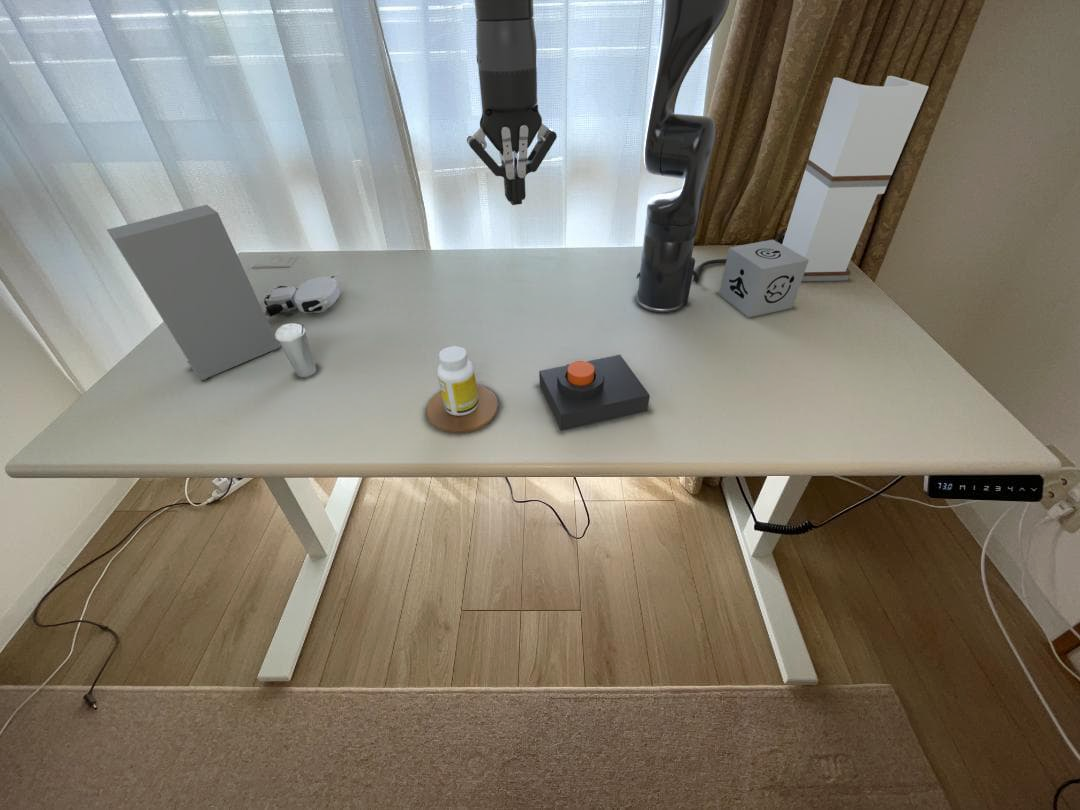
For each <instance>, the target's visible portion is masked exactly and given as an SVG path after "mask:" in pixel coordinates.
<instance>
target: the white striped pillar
mask: <svg viewBox="0 0 1080 810" xmlns="http://www.w3.org/2000/svg"><path fill="white" fill-rule="evenodd" d="M928 90H929V85H925V84H922V83H918V82H916V81H912V80H908V79H905V78H902V77H898V76H894V75H887V77H886V79H885V81H884V85H883V86H879V85H869V84H868V85H867V84H861V83H855V82H852V81H849V80H847V79H845V78H841V77H833V78H832V82H831V85H830V88H829V91H828V94H827V97H826V100H825V104H824V108H823V111H822V113H821V117H820V121H819V123H818V127H817V130H816V133H815V137H814V140H813V144H812V146H811V149H810V153H809V155H808V160H807V162H806V166H805V170H804V173H803V176H802V179H801V182H800V185H799V189H798V192H797V195H796V197H795V202H794V204H793V208H792V210H791V215H790V218H789V221H788V224H787V226H786V227H787V230H786V231H785V233H784V238H783V240H782V243H781V244H782V245H784V246H785V247H787V248H789V249H791V250H792V251H794V252H796V253H798V254H799V255H801V256H803V257H805V258H806V259H808V260H809V261H808V264H807V267H806V270H805V272H804V275H803V278H802V281H801V282H837V281H838V282H839V281H840V282H841V281H848V280H849V277H850V276H851V272H852V271H851V270H850V269H849V268H848V267H849V264H850V261H851V259H852V257H853V254H854V252H855V250H856V247H857V245H858V242H859V240H860V237H861V235H862V233H863V230H864V228H865V226H866V223H867V220H868V218H869V216H870V213H871V212H872V208H873V206H874V204H875V201H876V198H877V197H878V195H883V194H885V192H886V190H887V187H888V185H889V182H890V181H891V178H892V175H893V173H894V170H895V169H896V166H897V164H898V162H899V159H900V156H901V154H902V152H903V149H904V146H905V144H906V142H907V140H908V137H909V135H910V132H911V130H912V128H913V125H914V123H915V121H916V118H917V116H918V113H919V111H920V109H921V106H922V104H923V102H924V99H925V97H926V94H927V92H928Z"/></svg>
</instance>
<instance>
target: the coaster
mask: <svg viewBox="0 0 1080 810" xmlns="http://www.w3.org/2000/svg"><path fill="white" fill-rule="evenodd" d="M476 386H477V392H478V399H479V403H478V406H477V408H476V409H475V410H474V411H473V412H471V413H469V414H467V415H461V416H457V415H452V414H450V413H448V412H447V411H446V409H445V407H444V403H443V399H442V394H441V390H439V392H437V393H436V394H434V395H433V396H432V398H431V399H430V401H429V402H428V404H427V407H426V415H427V419H428V420H429V422H430V423H431V425H432V426H434V428H436V429H438V430H439V431H442V432H445V433H449V434H466V433H470V432H474V431H477V430H480V429H481V428H484V427H486V426H487V425H489V424H490V422H491V421H492V420H493V419H494V418H495V417H496V415H497V413H498V409H499V403H498V398H497V396H496V395H495V393H494V392H493V391H492V390H490V389H489V388H488V387H485V386H483V385H479V384H476Z"/></svg>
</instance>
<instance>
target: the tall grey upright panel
mask: <svg viewBox="0 0 1080 810" xmlns="http://www.w3.org/2000/svg"><path fill="white" fill-rule="evenodd" d="M106 231H107V233H108V234H109V236H110V238H111V239H112V241H113V242H114V244H115V246H116V247H117V249H118V250H119V252H120V254H121V255H122V257H123V258H124V260H125V261H126V262H125V263H127V265H128V267H129V268H130V270H131V271H132V273H133V275H134V276H135V278H136V279H137V281H138V282H139V284H140V286H141V287H142V289H143V290H144V292H145V294H146V296H147V297H148V299H149V301H150V302H151V304H152V305H153V307H154V308H155V310H156V311H157V313H158V315H159V316H160V318H161V320H162V321H163V323H164V324H165V326H166V328H167V329H168V331H169V333H170V334H171V335H172V338H173V339H174V340H175V342H176V344H177V345H178V347H179V349H180V350H181V353H182V354H183V355H184V356H185V359H186V360H187V361H186V362H187V364H188V365H189V367H190V368H191V369H192V371H193V372H194V373H195V375H196V376H197V378H198V379H199V380H200V381H206V380H207V379H208V378H210V377H213V376H215V375H218V374H220V373H222V372H225V371H227V370H230V369H232V368H234V367H236V366H238V365H241V364H243V363H246V362H248V361H250V360H253V359H256V358H257V357H260V356H263V355H266V354H267V353H270V352H272V351H277V350H278V349H279V348H281V346H280V344H279V343H278V341H277V339H276V338H275V333H274V332H273V330H272V328H271V326H270V323H269V321H268V319H267V316H265V314H264V312H263V310H264V309H263V308H262V306H261V304H260V301H259V299H258V297H257V295H256V293H255V291H254V289H253V286H252V284H251V282H250V280H249V277H248V275H247V273H246V271H245V269H244V266H243V265H242V262H241V260H240V258H239V256H238V254H237V252H236V249H235V247H234V245H233V242H232V240H231V238H230V236H229V233H228V231H227V229H226V227H225V225H224V223H223V221H222V218H221V217H220V214H219V212H218V211H217V210H215V209H213V207H211V206H209V205H208V204H203V205H200V206H195V207H191V208H187V209H184V210H183V209H182V210H180V211H175V212H172V213H171V212H170V213H168V214H164V215H160V216H155V217H151V218H148V219H143V220H139V221H135V222H132V223H128V224H124V225H120V226H116V227H112V228H108V229H107V228H106Z"/></svg>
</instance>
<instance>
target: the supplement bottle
mask: <svg viewBox="0 0 1080 810" xmlns="http://www.w3.org/2000/svg"><path fill="white" fill-rule="evenodd" d="M438 359H439V365H438V366H437V370H436V372H437V373H436V374H437V379H438V384H439V390H440V391H441V394H442V399H443V403H444V407H445V409H446V411H447V412H448V413H450V414H452V415H457V416H461V415H467V414H469V413H471V412H473V411H474V410H475V409H476V408H477V406H478V403H479V399H478V392H477V386H476V385H477V379H476V373H475V368H474V364H473V363H472V361H470V360H469V358H468V352H467V350H466V349H465V348H464V347H463V346H458V345H452V346H447V347H445V348H443V349H441V350H440V352H439V353H438Z"/></svg>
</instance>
